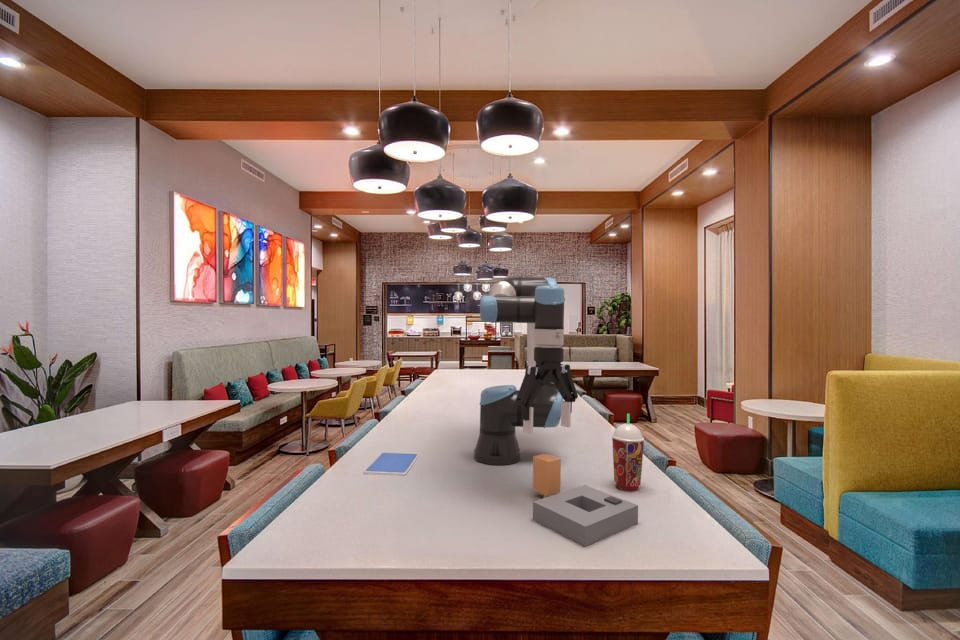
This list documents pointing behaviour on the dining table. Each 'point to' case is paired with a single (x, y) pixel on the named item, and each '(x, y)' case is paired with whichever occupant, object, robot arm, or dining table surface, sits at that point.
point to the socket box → (585, 514)
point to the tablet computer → (392, 464)
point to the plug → (546, 474)
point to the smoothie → (627, 456)
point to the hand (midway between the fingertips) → (547, 429)
